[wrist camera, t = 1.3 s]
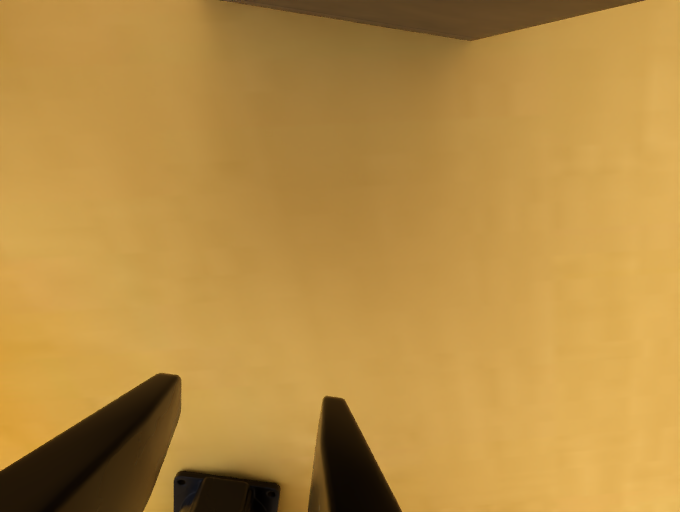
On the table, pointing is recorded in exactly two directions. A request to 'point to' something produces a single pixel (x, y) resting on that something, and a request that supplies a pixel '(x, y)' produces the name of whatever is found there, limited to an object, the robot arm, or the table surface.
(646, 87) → the table surface
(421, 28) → the coffee maker
